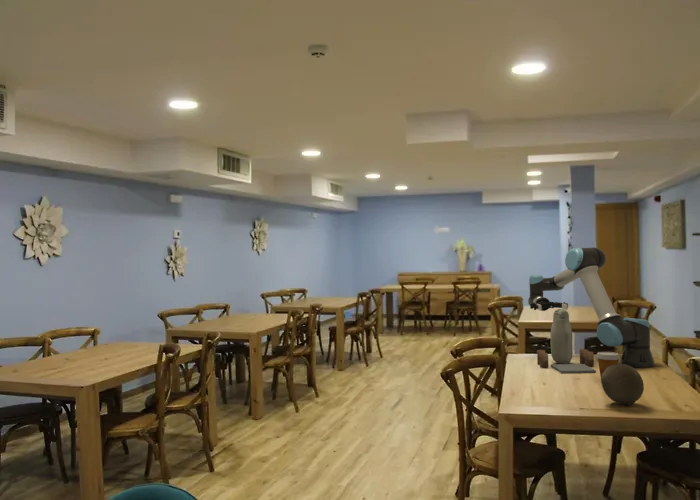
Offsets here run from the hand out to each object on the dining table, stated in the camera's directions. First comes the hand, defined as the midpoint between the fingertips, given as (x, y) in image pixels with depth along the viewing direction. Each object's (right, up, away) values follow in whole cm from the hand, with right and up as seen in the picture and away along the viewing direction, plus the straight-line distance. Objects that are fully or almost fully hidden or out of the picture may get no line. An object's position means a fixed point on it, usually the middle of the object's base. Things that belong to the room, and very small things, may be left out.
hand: (553, 307), depth 304 cm
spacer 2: (-11, -28, -18) cm, 35 cm away
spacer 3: (+12, -27, -11) cm, 32 cm away
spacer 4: (+11, -27, -18) cm, 35 cm away
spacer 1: (-10, -28, -10) cm, 31 cm away
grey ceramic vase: (+1, -28, -11) cm, 30 cm away
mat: (0, -28, -26) cm, 38 cm away
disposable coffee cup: (+7, -27, -50) cm, 58 cm away
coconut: (-6, -27, -90) cm, 94 cm away
